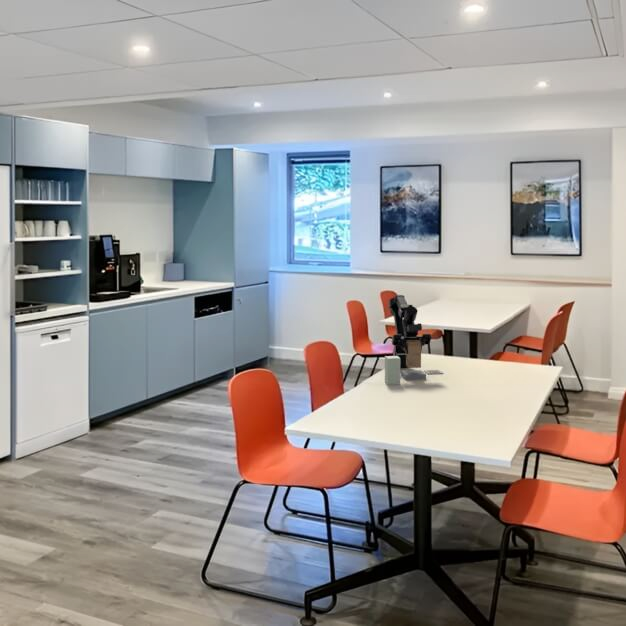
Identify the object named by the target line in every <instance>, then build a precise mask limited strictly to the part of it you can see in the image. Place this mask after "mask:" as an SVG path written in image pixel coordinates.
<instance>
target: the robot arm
mask: <svg viewBox="0 0 626 626" xmlns="http://www.w3.org/2000/svg"><path fill="white" fill-rule="evenodd" d="M405 298H406V297H405V295H404V294H395V295H394V296H393V297H392V298H390V299H389V301H388V303H387V305H388V309H389V313H390V314H391V315H392V316H393V319H394V326H395V334H393V335H392V338H391V344H392V346H393V350H392V356H398V357H399V358H400V369H409V368H408V367H407V366H406V354H408V349H407V345H406V340H419V341H420V342H421V352H422V350H423V347H425V346H426V345H430V344H431V340H432V334H431V333H422V335H421V336H418V335H419V332H420V331H422V330H423V325H422V323H417V324H415V321H416V319H417V315H418V308H417V307H415V306H414V305H413V304H408V303H407V301H406V299H405Z"/></svg>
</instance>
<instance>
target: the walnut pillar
mask: <svg viewBox="0 0 626 626" xmlns="http://www.w3.org/2000/svg"><path fill="white" fill-rule="evenodd" d="M406 345H407V349H408V354H406V366H407V367H408V368H407V369H420V368H422V351H421V342H420V341H419V340H406Z"/></svg>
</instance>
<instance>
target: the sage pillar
mask: <svg viewBox="0 0 626 626" xmlns="http://www.w3.org/2000/svg"><path fill="white" fill-rule="evenodd" d="M384 383H385V384H386V385H387V386H392V385H393V386H395V385H396V386H399V384H400V385H401V368H400V358H399V357H398V356H394V355H388V356H387V355H384Z"/></svg>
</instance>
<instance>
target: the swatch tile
mask: <svg viewBox="0 0 626 626" xmlns="http://www.w3.org/2000/svg"><path fill="white" fill-rule="evenodd" d="M423 372H424V373H425V374H426V375H444V372H443V371H441V370H440V369H427V370H426V369H425V370H424V369H423Z"/></svg>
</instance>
